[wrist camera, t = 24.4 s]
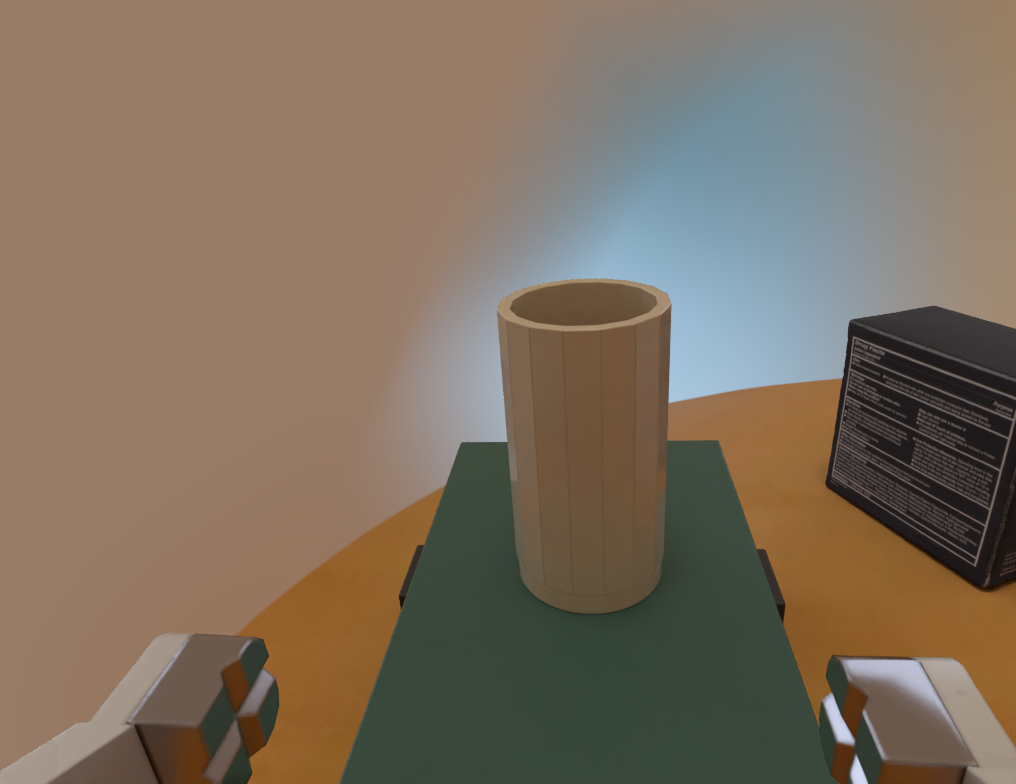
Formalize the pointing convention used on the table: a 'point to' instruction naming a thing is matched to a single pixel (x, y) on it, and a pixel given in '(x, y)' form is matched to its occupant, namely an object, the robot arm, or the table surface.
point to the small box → (933, 435)
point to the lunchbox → (589, 655)
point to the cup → (587, 438)
